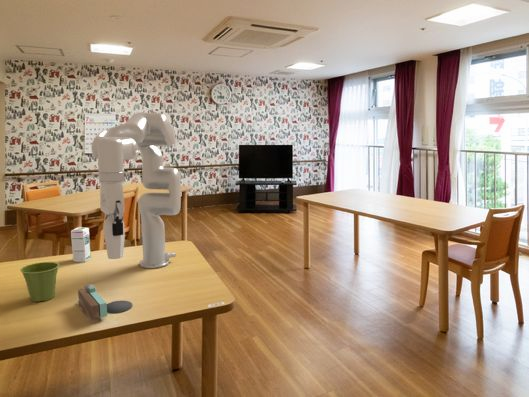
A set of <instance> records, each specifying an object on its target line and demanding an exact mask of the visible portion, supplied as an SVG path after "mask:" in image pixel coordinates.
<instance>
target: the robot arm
mask: <svg viewBox="0 0 529 397" xmlns="http://www.w3.org/2000/svg"><path fill="white" fill-rule="evenodd" d="M175 142H176V131H175V129H174V127H173V126H172V123H171V121H170V119H169V118H168V117H167V116H166V115H165V114H164V113H161V112H136V113H134V114H133V115H132V116H130V117H129V119H127V121H126V122H125V123H121V124H120V125H116V126H113V127H110V128H107V129H103V130H102V131H100V132H99V133H98V134H97V135H96V136H95V137H94V138H93V140H92V143H91V146H90V147H91V152H92V155H93V157H95V158H96V159H97V164H98V167H97V168H98V183H100V187H99V188H100V190H99V197H100V198H99V202H100V203H99V205H100V207H99V208H100V211H101V212H103V213H104V221H105V220H106V219H107V217H108V216H109V215H111V214H112V218H113V223H112V231H113V236H119V235H123V222H124V215H125V214H124V213H125V196H124V195H125V194H124V185H123V183H125V167H124V166H125V163H124V162H125V161H129V160H132V159H133V160H134V158H135V157H137V155H138V152H139V151H140V155H141V158H142V159H141V161H142V162H141V163H142V171H141V174H142V178H141V179H142V185H143V187H144V188H145V189H148V190H163V191H164V190H165V191H166V190H167V191H168V192H145V193H143V194H141V195H140V196H139V197H138V208H139V212H140V220H141V235H142V238H141V239H142V243H141V244H142V259H141V260H139V263H138V264H139V266H140V267H141V268H145V269H159V268H163V266H164V267H166V266H168V265H169V264H170V260H169V259H170V258H176V256H177V255H176V252H170V251H169V252H166V231H165V230H166V229H165V228H166V227H165V222H164V220H163V219H162V218H161V216H176V215H178V214H179V213H180V212H181V207H182V206H181V204H182V201H181V200H182V199H181V197H182V195H181V194H182V191H181V189H182V183H181V182H182V181H181V174H180V171H179V170H178V169H177V168H176V167H168V166H167V167H164V163H163V162H164V157H163V154H162V152H161V150H160V149H159V148H158V147H171V146H173V145H174V144H175ZM114 212H118V213H114ZM115 216H116V219H115Z"/></svg>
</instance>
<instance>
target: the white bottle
mask: <svg viewBox="0 0 529 397" xmlns="http://www.w3.org/2000/svg"><path fill="white" fill-rule="evenodd" d="M114 213H118V212H114ZM115 219H116V216H115ZM112 223H113V218H112V214H111V215H109V216H108V217H107V219H106V220H105V219H104V222H103V237H104V243H105V248H106V253H107V254H106V255H107V258H108V259H109V260H117V259H118V260H119V259H121V258H123V257H124V252H125V251H124V250H125V237H126V236H125V234H126V233H125V232H126V231H125V222H124V221H123V235H119V236H113V231H112Z"/></svg>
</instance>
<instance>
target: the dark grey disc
mask: <svg viewBox="0 0 529 397" xmlns="http://www.w3.org/2000/svg"><path fill="white" fill-rule="evenodd" d="M132 307H133V303H132V302H131V301H129V300H115V301H110V302H109V303H107V314H108V313H109V314H120V313H124V312H127V311H129V310H131V309H132Z"/></svg>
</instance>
